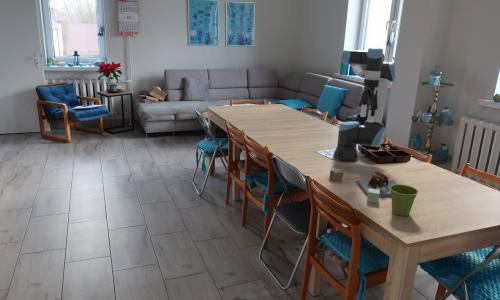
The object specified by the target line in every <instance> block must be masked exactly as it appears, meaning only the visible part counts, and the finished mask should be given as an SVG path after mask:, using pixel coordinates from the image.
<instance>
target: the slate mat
mask: <svg viewBox="0 0 500 300" xmlns="http://www.w3.org/2000/svg"><path fill="white" fill-rule="evenodd" d="M369 181H370V179H356V183H357V185H358V186H359V187H360V189H361V190H362V191H363V193H364V194H365V195H366V197H368V190H369V188H370V189H375V188H373V187H371V186H369V185H368V182H369ZM396 184H398V182H396V181H395V180H388V186H386V183H385V184H384V185H383V187H382V188H379V187H378V185H377V187H376V189H377V190H380V194H379V197H382V198H383V197H384V198H385V197H387V198H388V197H389V198H390V197H391V190H390V186H392V185H396ZM391 198H392V197H391Z"/></svg>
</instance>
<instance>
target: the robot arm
mask: <svg viewBox="0 0 500 300" xmlns="http://www.w3.org/2000/svg"><path fill="white" fill-rule="evenodd" d="M385 58H386V56H385V54H384V50H383V48H380V47H379V48H378V47H369V48H368V49H367V50H359V49H357V50H356V49H343V50H342V52H341V59H340V60H341V64H344V65H349V66H350V67H351V68H352V71H353V73H354V74H355V75H356V76H358V77H360V78H362V79H364V80H363V91H362V94H361V99H360V104H361V107H360V108H361V109H360V115H359V117H360V118H362V117H363V118H366V117H367V119H366V120H365V121H364V122H363V124H360V121H343V122H341V123H340V124H339V127H338V136H337V143H336V144H337V146H336V148H335V150H334V152H333V155H332V156H333V159H334V160H335V161H338V162H343V163H356V162H358V161H359V153H358V148H357V146H358V145H363V146H369V147H380V146H381V145H382V143H383V141H384V138H385V134H386V128H385V127H384V124H383V123H382V122H383V118H384V117H383V116H384V112H385V107H386V100H387V96H388V95H387V94H388V89H389V87H390V86H391V85H392V83H393V82H395V81H396V80H395V79H396V77H395V76H396V63H394V62H393V61H388V60H386V59H385ZM385 60H386V61H385ZM368 101H369V108H368ZM367 109H368V112H367ZM366 115H367V116H366Z"/></svg>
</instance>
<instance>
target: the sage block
mask: <svg viewBox="0 0 500 300" xmlns="http://www.w3.org/2000/svg"><path fill="white" fill-rule="evenodd" d="M379 194H380V190H377V189H370V188H369V190H368V196H367V199H366V202H367V203H372V204H379V200H380V196H379Z"/></svg>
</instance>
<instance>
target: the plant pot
mask: <svg viewBox="0 0 500 300" xmlns="http://www.w3.org/2000/svg"><path fill="white" fill-rule="evenodd" d="M390 190H391V211H392V213H393V214H394V215H395V216H396V215H397V216H399V217H407V216H409V215H410V213H411V211H412V207H413V204H414V201H415V199H416V197H417V195H418V194H419V191H420V190H418V189H417V188H415V187H413V186H410V185H407V184H400V183H399V184H398V183H397V184H396V185H392V186H390Z"/></svg>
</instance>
